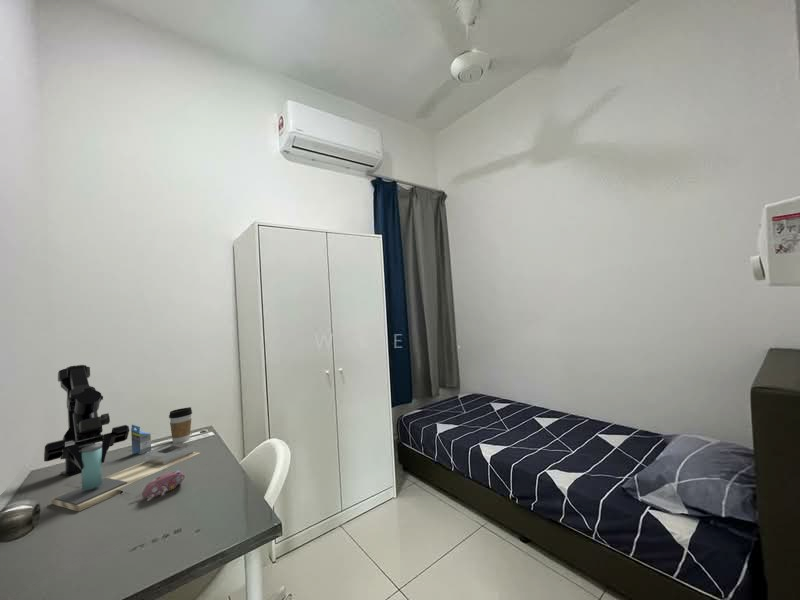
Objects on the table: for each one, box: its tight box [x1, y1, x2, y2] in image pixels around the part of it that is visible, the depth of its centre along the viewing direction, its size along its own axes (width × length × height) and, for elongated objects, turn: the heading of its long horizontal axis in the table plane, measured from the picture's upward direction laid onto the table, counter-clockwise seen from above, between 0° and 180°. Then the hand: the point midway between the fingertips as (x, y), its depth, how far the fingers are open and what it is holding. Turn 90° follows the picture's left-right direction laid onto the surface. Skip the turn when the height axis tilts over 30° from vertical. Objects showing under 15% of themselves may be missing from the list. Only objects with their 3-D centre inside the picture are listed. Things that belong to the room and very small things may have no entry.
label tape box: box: [130, 423, 152, 455], centre depth 125 cm, size 9×4×12 cm, turn 59°
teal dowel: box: [81, 442, 103, 490], centre depth 94 cm, size 4×4×12 cm
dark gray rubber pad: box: [53, 477, 127, 505], centre depth 94 cm, size 12×12×1 cm
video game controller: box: [142, 470, 186, 499], centre depth 93 cm, size 10×5×7 cm, turn 143°
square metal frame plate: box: [143, 442, 195, 466], centre depth 116 cm, size 11×11×3 cm
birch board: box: [51, 451, 200, 513], centre depth 104 cm, size 15×35×2 cm, turn 159°
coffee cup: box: [168, 406, 193, 444], centre depth 134 cm, size 8×8×15 cm
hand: (92, 465), depth 93 cm, fingers closed on teal dowel, 4 cm apart
